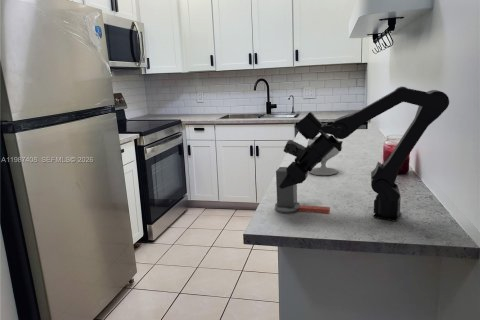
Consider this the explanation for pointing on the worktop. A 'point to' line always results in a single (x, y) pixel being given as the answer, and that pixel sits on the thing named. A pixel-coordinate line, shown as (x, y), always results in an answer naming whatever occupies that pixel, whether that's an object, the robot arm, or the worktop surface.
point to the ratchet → (302, 209)
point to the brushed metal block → (285, 191)
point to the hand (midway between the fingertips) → (283, 183)
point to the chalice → (324, 162)
